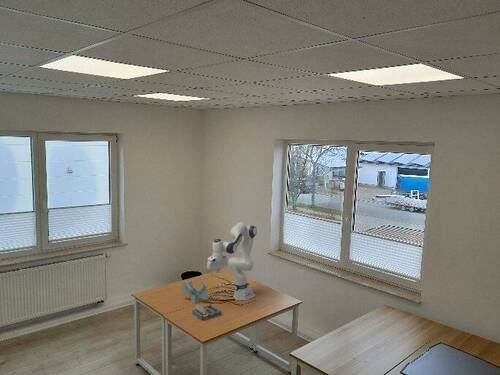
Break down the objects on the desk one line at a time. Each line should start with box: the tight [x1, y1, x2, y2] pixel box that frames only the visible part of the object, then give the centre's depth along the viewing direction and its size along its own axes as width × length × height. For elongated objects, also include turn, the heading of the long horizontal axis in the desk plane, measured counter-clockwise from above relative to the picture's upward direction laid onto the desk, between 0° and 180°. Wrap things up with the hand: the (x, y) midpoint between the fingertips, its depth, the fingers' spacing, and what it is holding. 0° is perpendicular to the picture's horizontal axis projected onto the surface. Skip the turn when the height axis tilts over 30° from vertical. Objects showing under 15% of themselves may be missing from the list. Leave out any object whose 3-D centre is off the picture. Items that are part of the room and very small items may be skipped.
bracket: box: [181, 280, 209, 305], centre depth 362 cm, size 28×7×20 cm, turn 67°
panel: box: [195, 304, 206, 316], centre depth 333 cm, size 2×12×7 cm, turn 39°
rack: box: [192, 304, 222, 322], centre depth 337 cm, size 19×17×4 cm
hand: (217, 272), depth 344 cm, fingers closed
